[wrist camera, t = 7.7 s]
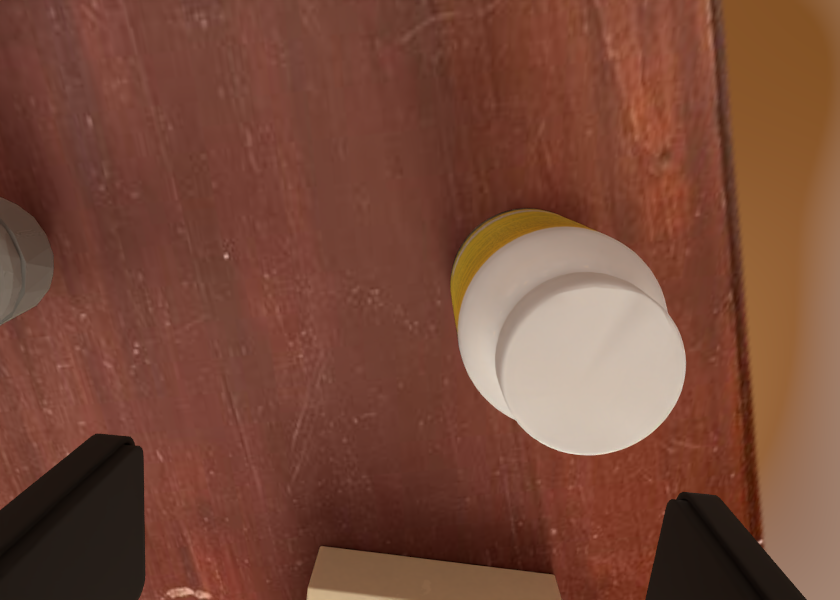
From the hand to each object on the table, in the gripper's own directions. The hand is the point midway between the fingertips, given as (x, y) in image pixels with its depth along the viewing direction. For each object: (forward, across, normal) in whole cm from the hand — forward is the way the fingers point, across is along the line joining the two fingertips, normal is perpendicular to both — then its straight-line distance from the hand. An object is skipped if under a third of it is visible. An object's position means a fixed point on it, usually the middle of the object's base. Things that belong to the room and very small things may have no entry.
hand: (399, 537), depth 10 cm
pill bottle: (+17, -4, -2) cm, 17 cm away
